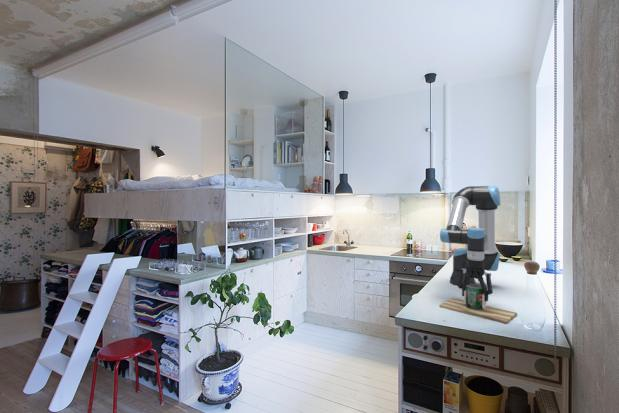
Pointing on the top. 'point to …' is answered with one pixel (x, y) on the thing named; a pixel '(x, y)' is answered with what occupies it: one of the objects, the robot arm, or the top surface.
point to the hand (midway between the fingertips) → (474, 305)
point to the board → (487, 313)
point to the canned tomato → (474, 297)
